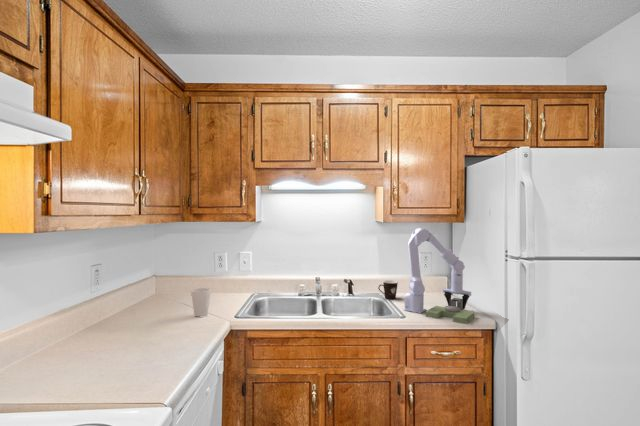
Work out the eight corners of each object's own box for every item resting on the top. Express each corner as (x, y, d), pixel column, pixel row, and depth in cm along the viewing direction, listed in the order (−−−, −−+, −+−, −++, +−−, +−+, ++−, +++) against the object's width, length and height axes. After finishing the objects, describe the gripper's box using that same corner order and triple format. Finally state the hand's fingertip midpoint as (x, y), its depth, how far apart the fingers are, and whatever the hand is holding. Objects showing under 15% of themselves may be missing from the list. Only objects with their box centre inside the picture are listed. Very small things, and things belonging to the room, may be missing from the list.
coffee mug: (396, 296, 240) (396, 280, 240) (398, 300, 232) (398, 283, 231) (377, 296, 241) (377, 280, 241) (378, 299, 233) (378, 283, 233)
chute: (449, 311, 208) (449, 300, 208) (454, 308, 214) (454, 297, 214) (458, 313, 205) (458, 302, 205) (463, 310, 211) (463, 299, 211)
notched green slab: (425, 316, 199) (425, 308, 199) (435, 310, 210) (436, 302, 210) (465, 323, 187) (465, 315, 187) (474, 317, 198) (474, 309, 198)
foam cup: (201, 311, 205) (201, 287, 204) (214, 314, 200) (214, 289, 200) (187, 316, 197) (187, 290, 196) (200, 319, 192) (200, 292, 192)
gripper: (473, 282, 208) (472, 308, 208) (446, 279, 217) (445, 303, 217) (469, 284, 202) (468, 310, 202) (441, 281, 211) (441, 306, 211)
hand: (456, 307), depth 209 cm, fingers open, 7 cm apart
